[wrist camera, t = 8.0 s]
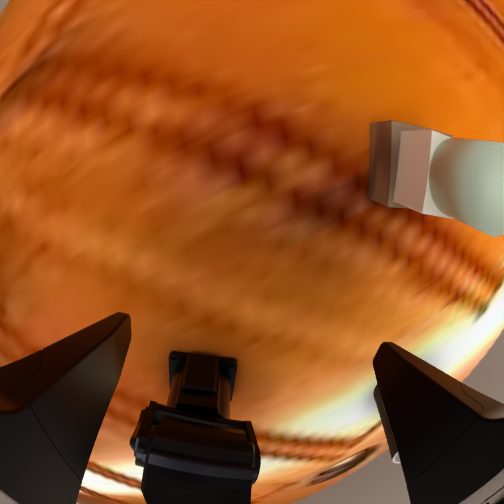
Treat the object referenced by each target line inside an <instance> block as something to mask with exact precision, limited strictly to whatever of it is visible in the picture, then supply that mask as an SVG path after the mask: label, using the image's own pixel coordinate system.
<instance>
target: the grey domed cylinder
mask: <svg viewBox="0 0 504 504" xmlns="http://www.w3.org/2000/svg"><path fill="white" fill-rule="evenodd" d="M429 187H430V192H431V196H432V199H433V201H434V203H435V205H436V206H437V208H438V209H439V210H440V211H441V212H442V213H443V214H445V215H447V216H449V217H451V218H454V219H456V220H458V221H460V222H462V223H465V224H467V225H469V226H471V227H473V228H475V229H477V230H479V231H482V232H484V233H486V234H488V235H490V236H492V237H498V236H501V235H503V234H504V143H500V142H493V141H484V140H475V139H463V138H449V139H446V140H444V141H443V142H441V143H440V144H439V146H438V147H437V148H436V150H435V152H434V154H433V156H432V159H431V163H430V168H429Z"/></svg>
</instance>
